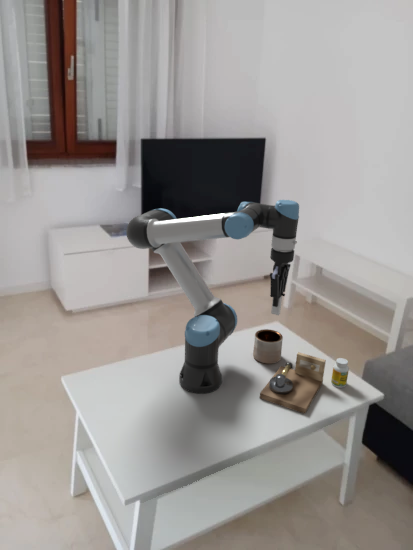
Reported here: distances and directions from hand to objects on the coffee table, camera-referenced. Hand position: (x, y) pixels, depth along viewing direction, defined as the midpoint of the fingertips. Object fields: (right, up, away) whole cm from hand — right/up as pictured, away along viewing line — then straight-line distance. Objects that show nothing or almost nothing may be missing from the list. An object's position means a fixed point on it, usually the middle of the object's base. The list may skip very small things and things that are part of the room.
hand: (275, 313), depth 162 cm
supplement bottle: (+24, -26, +8) cm, 36 cm away
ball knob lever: (+3, -25, +3) cm, 25 cm away
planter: (0, -19, +23) cm, 30 cm away
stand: (+6, -27, +3) cm, 28 cm away
